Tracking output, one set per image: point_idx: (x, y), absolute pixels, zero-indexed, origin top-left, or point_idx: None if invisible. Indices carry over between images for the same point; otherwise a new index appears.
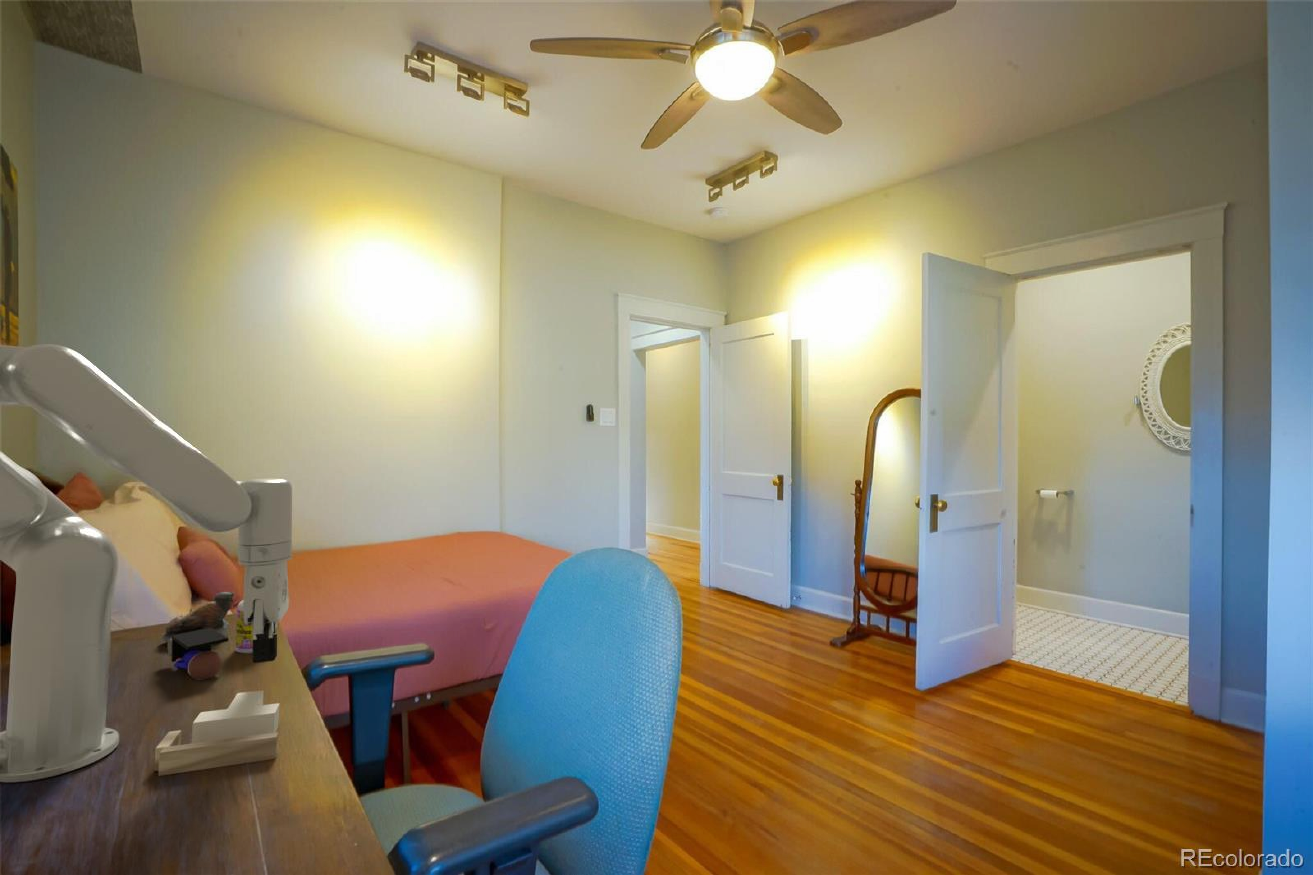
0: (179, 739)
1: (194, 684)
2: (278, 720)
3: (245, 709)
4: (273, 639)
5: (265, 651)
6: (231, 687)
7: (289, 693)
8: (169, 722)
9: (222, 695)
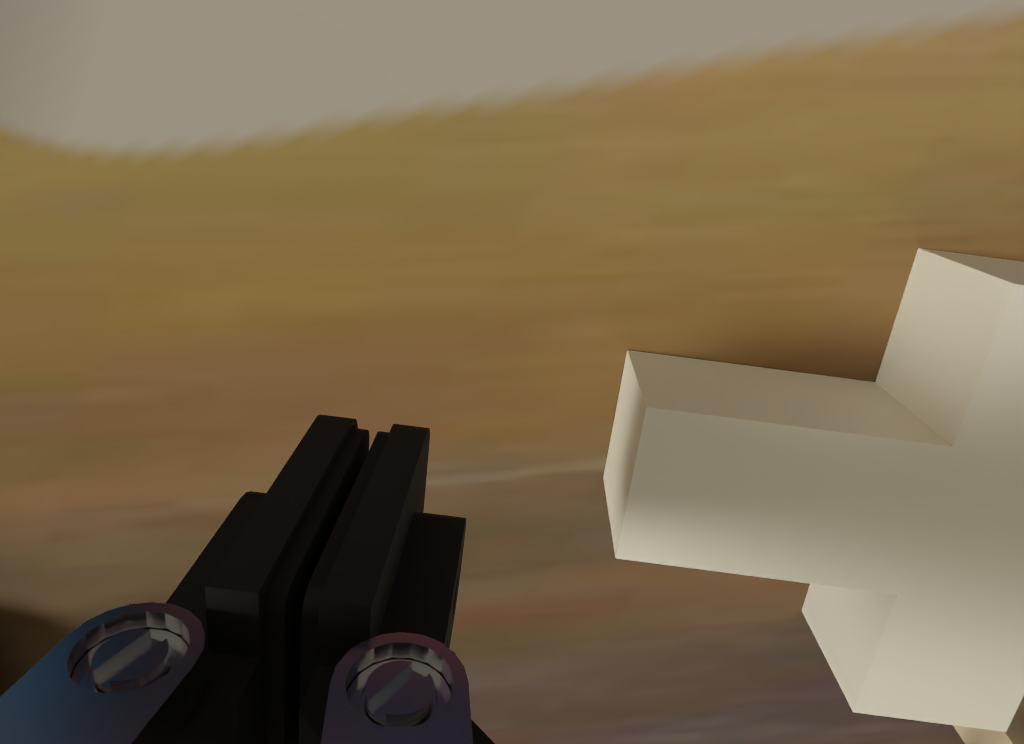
0: (1018, 723)
1: None
2: (947, 257)
3: (982, 497)
4: (380, 600)
5: (456, 581)
6: (130, 531)
7: (353, 200)
8: (543, 730)
9: None
